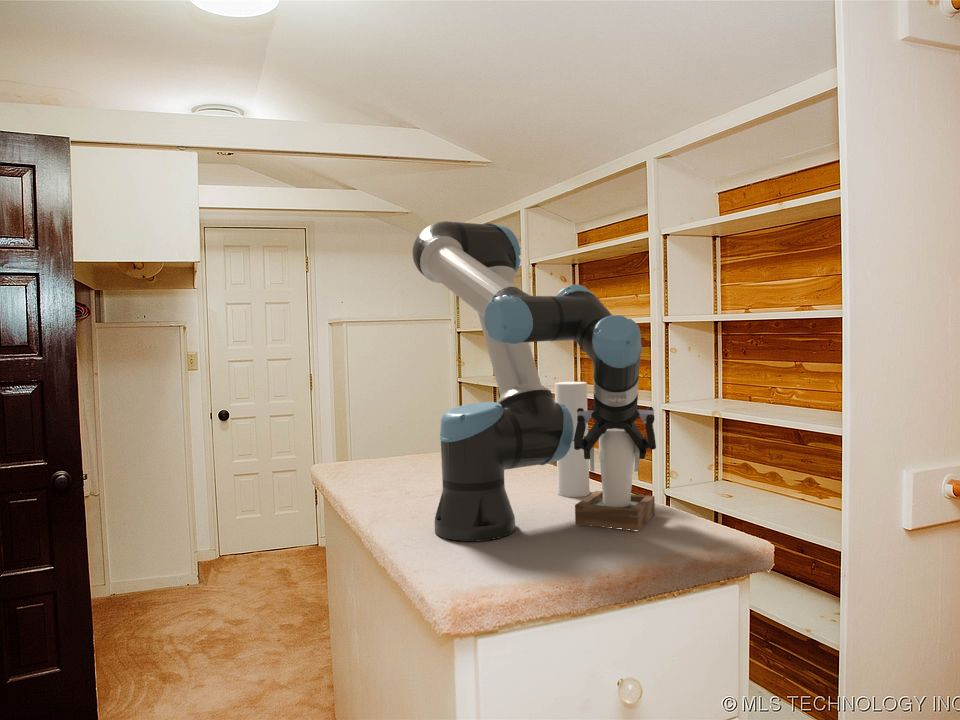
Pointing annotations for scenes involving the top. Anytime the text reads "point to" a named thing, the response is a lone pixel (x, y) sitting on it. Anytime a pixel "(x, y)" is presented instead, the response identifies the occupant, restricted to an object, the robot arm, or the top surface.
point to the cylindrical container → (573, 463)
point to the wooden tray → (614, 512)
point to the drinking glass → (616, 467)
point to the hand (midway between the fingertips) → (613, 465)
